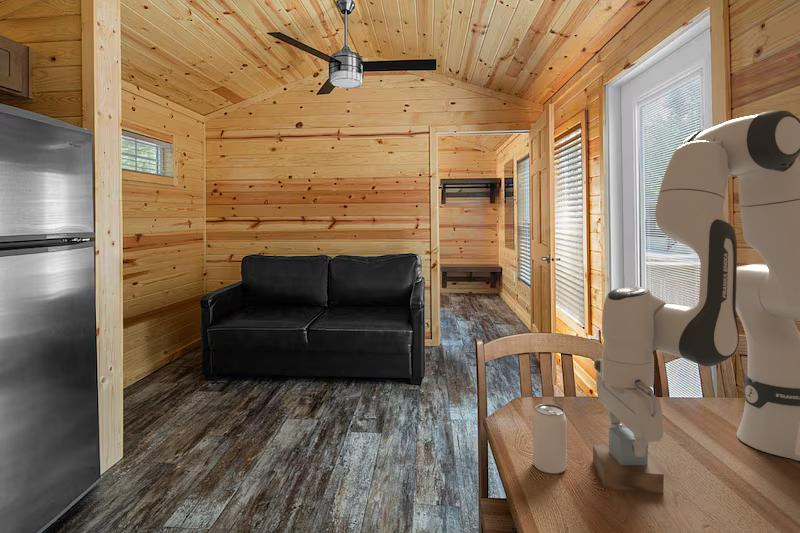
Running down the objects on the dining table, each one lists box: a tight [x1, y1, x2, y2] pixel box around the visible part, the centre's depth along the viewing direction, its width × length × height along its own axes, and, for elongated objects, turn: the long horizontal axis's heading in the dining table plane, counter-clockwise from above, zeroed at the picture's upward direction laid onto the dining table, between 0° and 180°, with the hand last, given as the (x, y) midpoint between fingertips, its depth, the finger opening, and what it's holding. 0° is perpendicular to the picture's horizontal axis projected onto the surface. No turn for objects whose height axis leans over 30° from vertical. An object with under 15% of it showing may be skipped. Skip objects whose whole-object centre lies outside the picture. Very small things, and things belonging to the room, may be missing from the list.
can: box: [532, 403, 568, 475], centre depth 91 cm, size 6×6×12 cm
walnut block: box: [592, 444, 665, 494], centre depth 87 cm, size 10×10×4 cm
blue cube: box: [608, 427, 649, 465], centre depth 87 cm, size 5×5×5 cm
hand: (626, 442), depth 87 cm, fingers open, 8 cm apart
